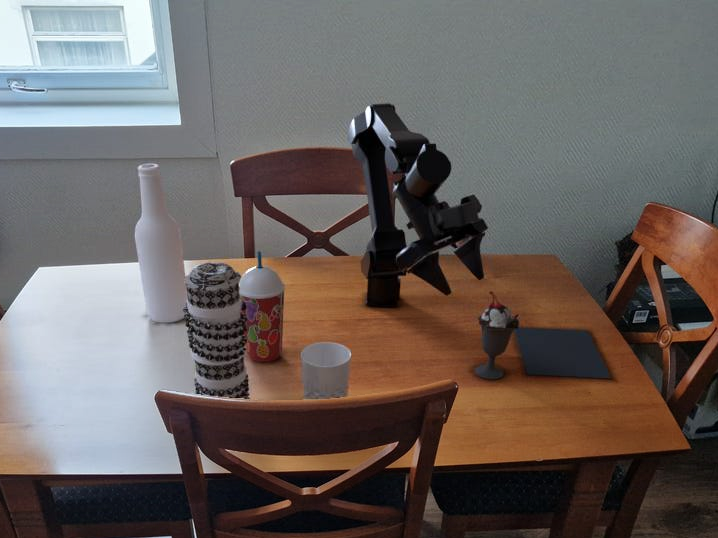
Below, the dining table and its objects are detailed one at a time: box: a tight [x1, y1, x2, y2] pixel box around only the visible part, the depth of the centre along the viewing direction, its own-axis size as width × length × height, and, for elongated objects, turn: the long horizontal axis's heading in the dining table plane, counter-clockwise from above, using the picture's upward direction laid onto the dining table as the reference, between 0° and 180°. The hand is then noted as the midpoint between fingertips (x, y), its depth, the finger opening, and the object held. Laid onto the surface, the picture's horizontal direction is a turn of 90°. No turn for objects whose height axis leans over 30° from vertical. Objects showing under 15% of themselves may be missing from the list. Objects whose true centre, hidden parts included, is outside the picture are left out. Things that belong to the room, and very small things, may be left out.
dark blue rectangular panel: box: [513, 326, 613, 380], centre depth 120 cm, size 14×18×1 cm
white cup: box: [300, 341, 352, 400], centre depth 104 cm, size 8×8×10 cm
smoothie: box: [239, 250, 286, 363], centre depth 116 cm, size 8×8×20 cm
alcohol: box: [134, 163, 188, 324], centre depth 128 cm, size 9×9×30 cm
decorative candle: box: [183, 261, 251, 400], centre depth 99 cm, size 9×9×25 cm
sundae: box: [474, 290, 520, 381], centre depth 111 cm, size 7×7×15 cm
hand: (465, 286), depth 113 cm, fingers open, 9 cm apart
